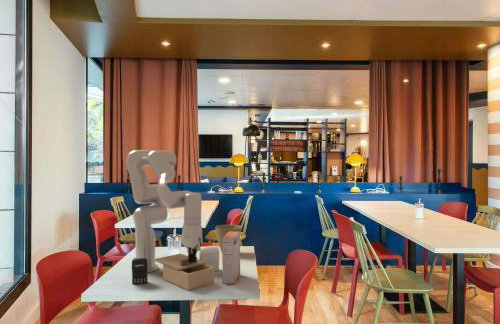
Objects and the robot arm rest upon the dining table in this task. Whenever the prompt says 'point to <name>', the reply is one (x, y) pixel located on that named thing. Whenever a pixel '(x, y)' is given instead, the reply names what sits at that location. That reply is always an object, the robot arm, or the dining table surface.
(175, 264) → the lid
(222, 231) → the plant pot
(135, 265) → the battery charger
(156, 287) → the dining table surface
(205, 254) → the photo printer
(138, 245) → the robot arm
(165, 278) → the mailer box
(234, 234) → the cracker box
